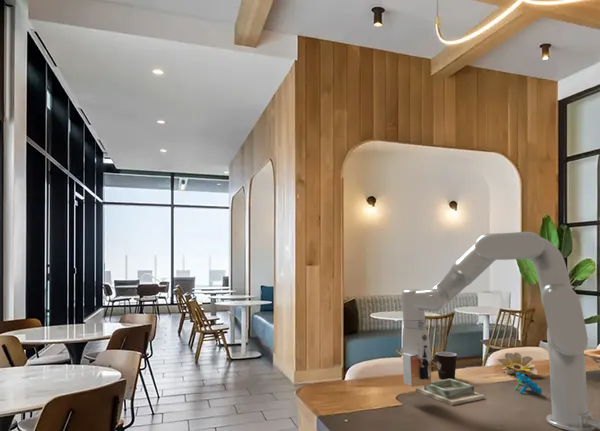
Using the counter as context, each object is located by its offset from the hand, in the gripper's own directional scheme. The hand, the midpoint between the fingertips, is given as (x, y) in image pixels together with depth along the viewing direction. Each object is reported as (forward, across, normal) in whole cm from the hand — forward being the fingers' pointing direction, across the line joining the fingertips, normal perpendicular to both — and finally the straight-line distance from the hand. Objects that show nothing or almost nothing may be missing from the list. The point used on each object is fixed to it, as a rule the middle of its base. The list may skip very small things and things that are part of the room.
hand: (417, 376), depth 152 cm
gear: (+10, -10, -45) cm, 47 cm away
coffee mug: (+9, +20, -33) cm, 40 cm away
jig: (+9, +2, -16) cm, 19 cm away
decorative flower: (+10, +9, -64) cm, 66 cm away
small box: (+3, 0, 0) cm, 3 cm away
